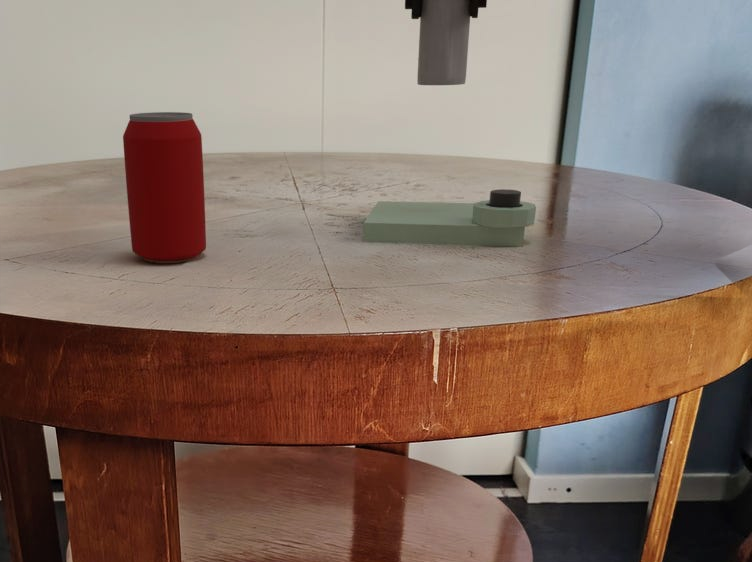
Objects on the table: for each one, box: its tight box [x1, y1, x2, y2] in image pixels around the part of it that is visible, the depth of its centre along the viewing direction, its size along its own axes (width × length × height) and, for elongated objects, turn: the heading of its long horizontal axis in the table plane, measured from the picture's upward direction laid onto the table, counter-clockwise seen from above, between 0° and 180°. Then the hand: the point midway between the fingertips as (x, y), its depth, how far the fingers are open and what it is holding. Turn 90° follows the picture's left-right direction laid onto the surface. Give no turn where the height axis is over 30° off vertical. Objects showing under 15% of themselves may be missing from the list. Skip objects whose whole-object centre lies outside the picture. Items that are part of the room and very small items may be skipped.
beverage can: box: [122, 111, 207, 264], centre depth 79 cm, size 7×7×12 cm
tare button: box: [489, 189, 522, 208], centre depth 84 cm, size 3×3×2 cm
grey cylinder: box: [417, 0, 471, 86], centre depth 83 cm, size 4×4×10 cm
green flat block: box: [362, 199, 537, 248], centre depth 90 cm, size 16×14×4 cm
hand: (444, 15), depth 83 cm, fingers closed on grey cylinder, 4 cm apart
